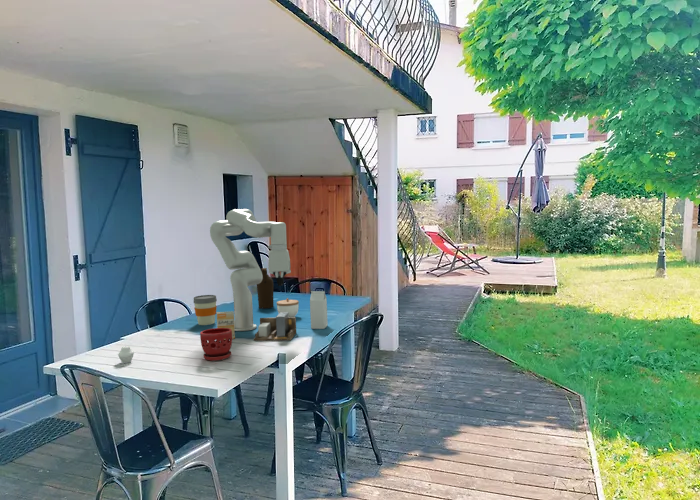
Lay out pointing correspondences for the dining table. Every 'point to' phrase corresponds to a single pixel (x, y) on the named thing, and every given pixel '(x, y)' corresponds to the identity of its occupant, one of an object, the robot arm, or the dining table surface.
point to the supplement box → (226, 321)
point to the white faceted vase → (126, 354)
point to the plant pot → (216, 343)
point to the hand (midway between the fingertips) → (280, 285)
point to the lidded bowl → (288, 306)
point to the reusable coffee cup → (205, 309)
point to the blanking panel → (282, 324)
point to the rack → (273, 330)
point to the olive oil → (265, 291)
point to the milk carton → (318, 310)
